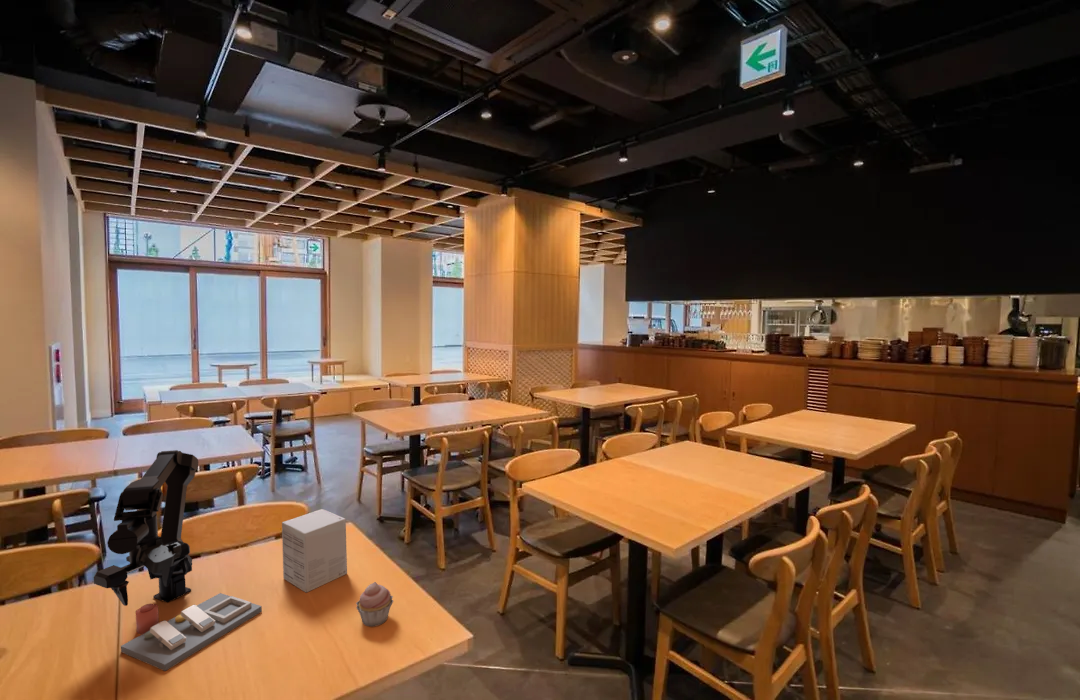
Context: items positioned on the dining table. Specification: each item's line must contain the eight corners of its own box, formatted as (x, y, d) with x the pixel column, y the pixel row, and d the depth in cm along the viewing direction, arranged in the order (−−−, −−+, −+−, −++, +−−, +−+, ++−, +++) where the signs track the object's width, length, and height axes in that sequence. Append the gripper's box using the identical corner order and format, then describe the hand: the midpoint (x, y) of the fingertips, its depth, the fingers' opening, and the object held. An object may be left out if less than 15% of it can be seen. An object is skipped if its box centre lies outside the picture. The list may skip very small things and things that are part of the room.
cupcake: (401, 614, 132) (401, 577, 131) (376, 634, 124) (375, 596, 123) (374, 605, 136) (373, 570, 135) (348, 624, 128) (347, 587, 127)
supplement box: (323, 561, 160) (322, 507, 159) (348, 573, 152) (346, 518, 151) (282, 578, 149) (280, 521, 148) (306, 593, 142) (304, 533, 140)
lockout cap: (132, 631, 124) (131, 609, 124) (152, 621, 129) (150, 600, 128) (143, 635, 123) (142, 613, 122) (163, 625, 127) (161, 604, 126)
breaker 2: (179, 616, 124) (180, 611, 124) (194, 607, 127) (195, 603, 127) (200, 633, 121) (201, 628, 121) (215, 624, 125) (216, 619, 124)
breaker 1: (148, 632, 117) (149, 627, 117) (165, 623, 121) (166, 618, 121) (169, 650, 115) (170, 646, 114) (186, 640, 118) (187, 636, 118)
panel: (121, 652, 117) (120, 641, 117) (220, 598, 139) (220, 588, 139) (165, 671, 111) (164, 659, 111) (261, 611, 133) (261, 601, 133)
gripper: (119, 558, 112) (123, 624, 113) (202, 525, 129) (205, 583, 131) (90, 549, 116) (94, 613, 118) (174, 518, 134) (177, 574, 135)
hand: (146, 595), depth 125 cm, fingers open, 9 cm apart
